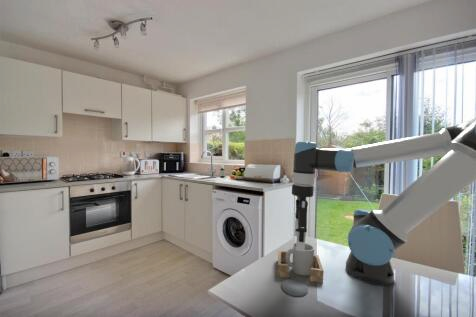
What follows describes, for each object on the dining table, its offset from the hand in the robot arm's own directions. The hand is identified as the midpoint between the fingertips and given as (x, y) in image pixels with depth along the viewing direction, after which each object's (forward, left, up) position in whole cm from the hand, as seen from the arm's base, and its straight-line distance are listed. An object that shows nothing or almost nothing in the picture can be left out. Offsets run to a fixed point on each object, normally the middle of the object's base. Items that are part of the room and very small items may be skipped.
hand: (298, 242), depth 83 cm
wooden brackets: (0, 0, -10) cm, 10 cm away
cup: (0, 0, -10) cm, 10 cm away
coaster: (+2, +12, -10) cm, 16 cm away
